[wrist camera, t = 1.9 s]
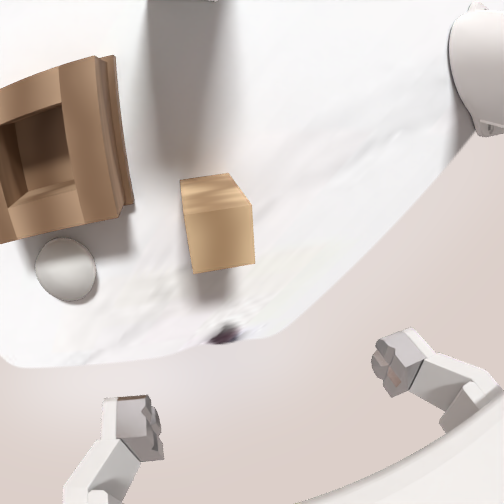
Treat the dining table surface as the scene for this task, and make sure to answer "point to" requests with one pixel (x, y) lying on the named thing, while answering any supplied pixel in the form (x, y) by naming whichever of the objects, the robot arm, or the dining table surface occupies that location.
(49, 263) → the grey flat pebble
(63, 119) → the socket block
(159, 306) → the dining table surface
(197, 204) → the oak peg
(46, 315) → the dining table surface
